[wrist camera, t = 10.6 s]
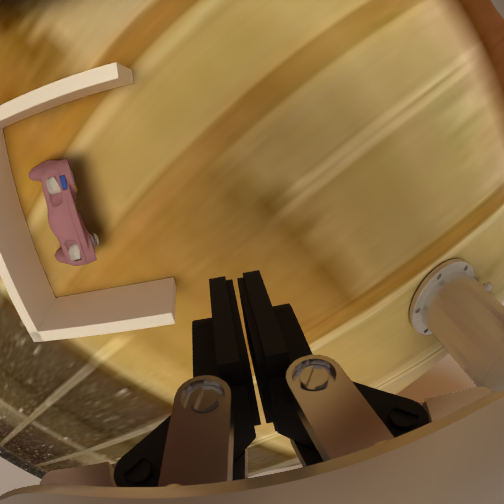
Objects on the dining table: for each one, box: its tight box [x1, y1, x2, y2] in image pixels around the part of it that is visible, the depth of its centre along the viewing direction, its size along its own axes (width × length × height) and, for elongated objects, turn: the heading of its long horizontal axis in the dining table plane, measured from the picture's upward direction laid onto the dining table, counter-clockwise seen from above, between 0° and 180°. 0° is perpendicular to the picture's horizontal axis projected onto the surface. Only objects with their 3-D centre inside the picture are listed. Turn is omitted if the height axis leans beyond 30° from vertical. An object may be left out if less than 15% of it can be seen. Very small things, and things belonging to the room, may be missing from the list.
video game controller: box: [29, 159, 99, 266], centre depth 24 cm, size 10×5×7 cm, turn 7°
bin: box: [0, 62, 176, 342], centre depth 24 cm, size 15×21×6 cm
